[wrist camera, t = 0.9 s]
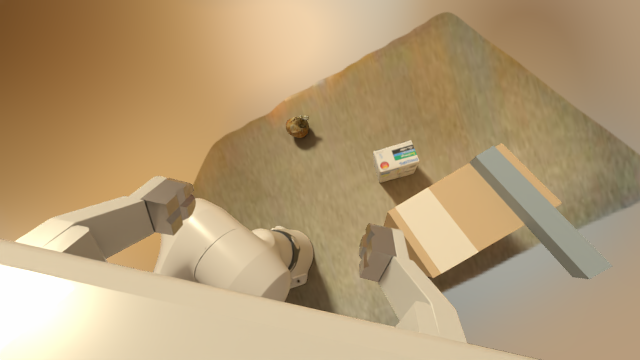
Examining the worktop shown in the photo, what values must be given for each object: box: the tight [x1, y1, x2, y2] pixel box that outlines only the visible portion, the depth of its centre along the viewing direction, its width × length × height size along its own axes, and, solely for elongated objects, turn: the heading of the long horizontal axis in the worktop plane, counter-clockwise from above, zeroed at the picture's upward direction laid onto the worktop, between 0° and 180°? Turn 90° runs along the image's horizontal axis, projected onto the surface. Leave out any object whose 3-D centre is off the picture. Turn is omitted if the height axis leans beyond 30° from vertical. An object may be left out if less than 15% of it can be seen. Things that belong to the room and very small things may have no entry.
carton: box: [384, 143, 562, 278], centre depth 53 cm, size 24×13×26 cm, turn 119°
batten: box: [470, 146, 612, 279], centre depth 38 cm, size 4×22×3 cm, turn 29°
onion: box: [286, 115, 309, 138], centre depth 80 cm, size 8×8×8 cm
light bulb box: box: [373, 140, 419, 183], centre depth 68 cm, size 11×7×11 cm, turn 102°
